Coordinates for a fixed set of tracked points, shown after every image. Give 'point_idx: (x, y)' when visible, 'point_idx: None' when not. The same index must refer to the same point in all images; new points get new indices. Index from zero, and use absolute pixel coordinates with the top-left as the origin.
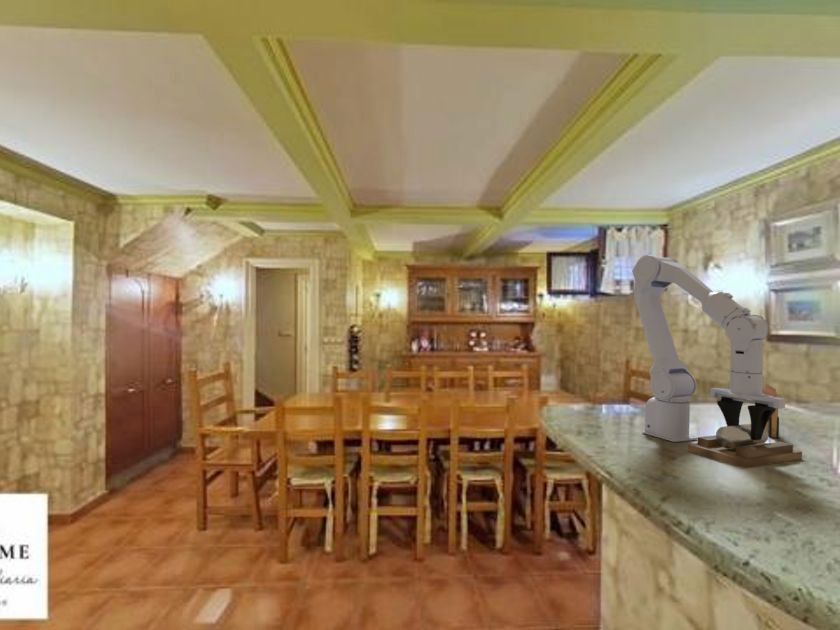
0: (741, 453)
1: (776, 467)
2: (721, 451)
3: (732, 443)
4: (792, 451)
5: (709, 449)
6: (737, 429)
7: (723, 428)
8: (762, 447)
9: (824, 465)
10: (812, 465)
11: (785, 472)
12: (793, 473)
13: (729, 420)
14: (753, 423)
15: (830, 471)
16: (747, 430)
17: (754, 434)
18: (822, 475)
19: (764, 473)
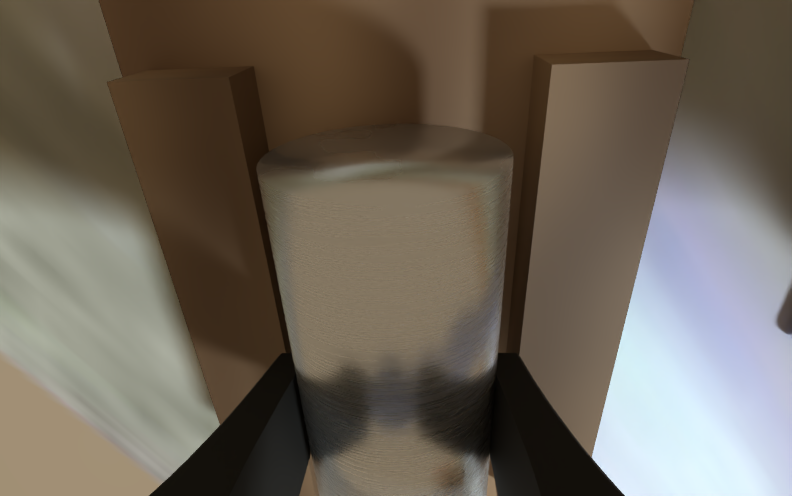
0: (190, 70)
1: (145, 233)
2: (377, 39)
3: (317, 143)
4: None
5: None
6: (303, 290)
7: (418, 191)
8: (206, 307)
9: (168, 464)
10: (171, 425)
11: (42, 185)
12: (25, 212)
13: (526, 452)
14: (209, 469)
15: (76, 408)
16: (309, 392)
17: (258, 383)
18: (4, 321)
19: (2, 7)
